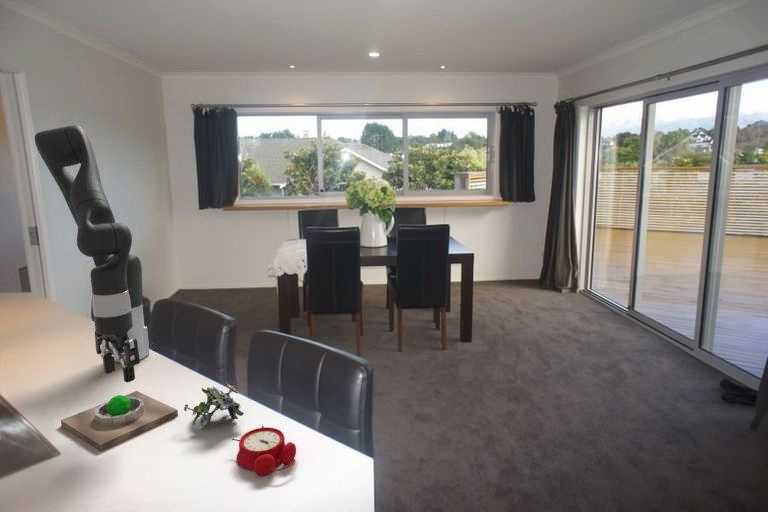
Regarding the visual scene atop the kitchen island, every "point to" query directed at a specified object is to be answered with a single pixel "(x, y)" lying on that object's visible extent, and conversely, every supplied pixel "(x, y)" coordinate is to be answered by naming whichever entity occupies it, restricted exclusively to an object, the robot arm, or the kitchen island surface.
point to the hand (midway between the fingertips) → (119, 376)
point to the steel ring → (120, 418)
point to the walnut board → (113, 435)
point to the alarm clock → (264, 450)
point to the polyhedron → (118, 405)
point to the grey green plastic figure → (216, 404)
